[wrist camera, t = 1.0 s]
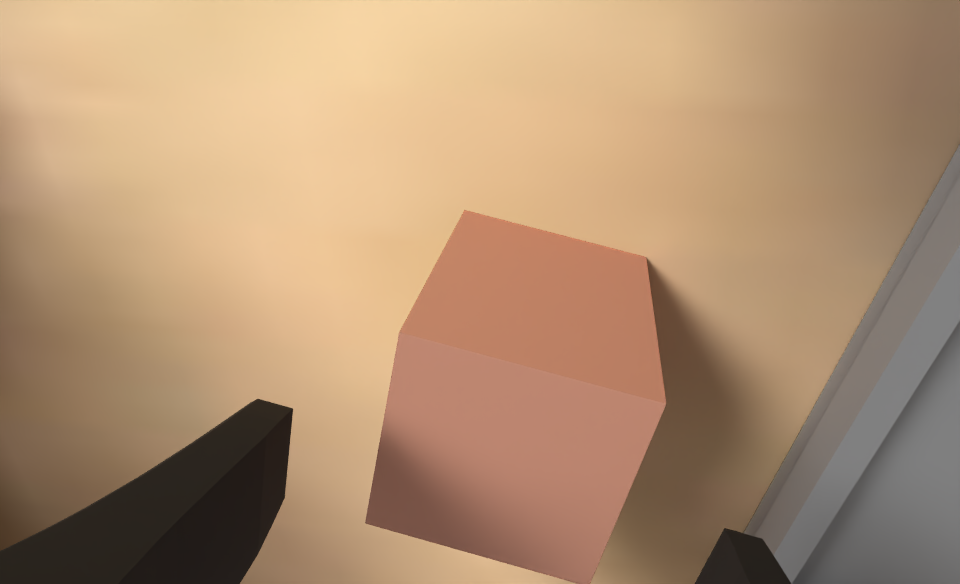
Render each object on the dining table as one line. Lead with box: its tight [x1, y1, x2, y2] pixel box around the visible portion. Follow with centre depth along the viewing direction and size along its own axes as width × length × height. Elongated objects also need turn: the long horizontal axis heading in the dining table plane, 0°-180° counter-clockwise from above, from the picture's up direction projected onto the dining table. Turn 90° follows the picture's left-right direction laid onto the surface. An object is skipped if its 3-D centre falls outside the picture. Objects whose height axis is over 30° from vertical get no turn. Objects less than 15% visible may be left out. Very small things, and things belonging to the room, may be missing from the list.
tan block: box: [365, 210, 666, 584], centre depth 15 cm, size 4×4×6 cm
